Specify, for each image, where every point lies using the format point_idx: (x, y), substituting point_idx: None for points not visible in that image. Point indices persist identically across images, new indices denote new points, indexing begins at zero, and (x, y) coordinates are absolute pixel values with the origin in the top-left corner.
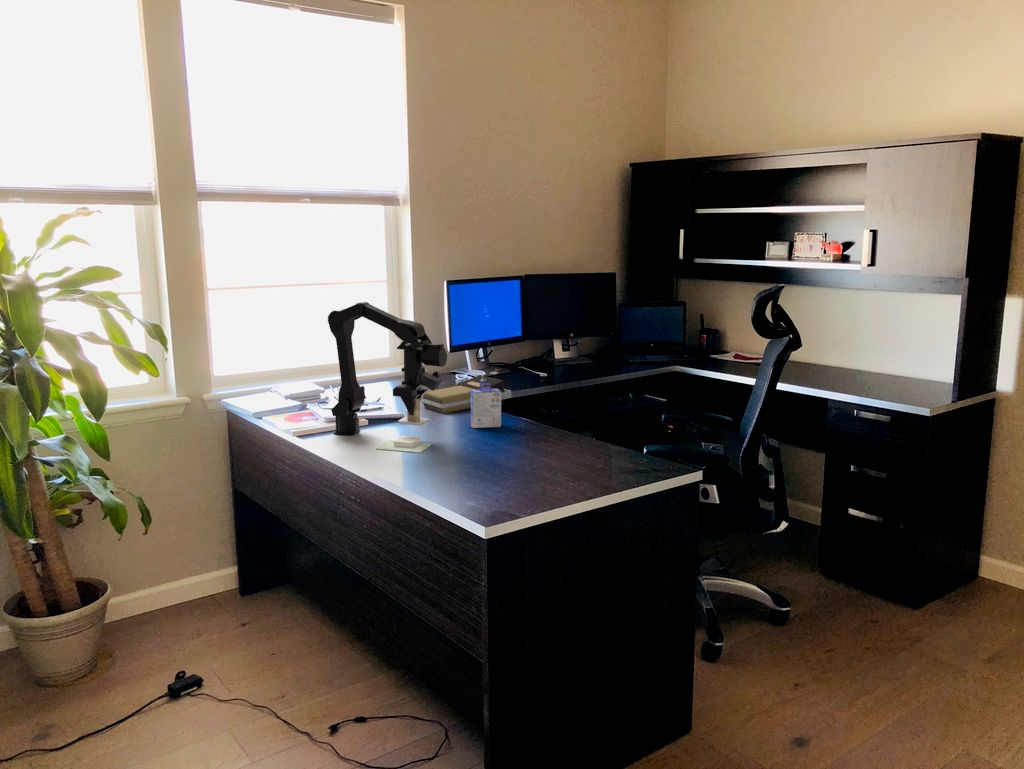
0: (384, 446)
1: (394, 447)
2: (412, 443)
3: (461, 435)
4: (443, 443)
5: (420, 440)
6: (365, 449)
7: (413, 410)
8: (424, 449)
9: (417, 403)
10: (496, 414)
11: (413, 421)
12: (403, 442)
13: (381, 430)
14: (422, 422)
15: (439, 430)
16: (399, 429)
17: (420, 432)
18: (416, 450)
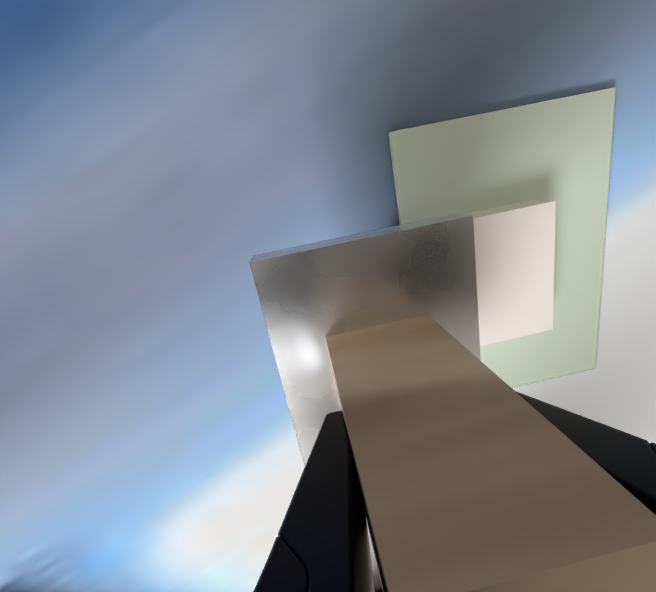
0: (551, 354)
1: (554, 298)
2: (545, 201)
3: (11, 48)
4: (319, 64)
5: None
6: (601, 405)
7: (529, 402)
8: (531, 104)
9: (525, 467)
10: None
11: (455, 330)
12: (553, 263)
13: (250, 553)
14: (459, 223)
15: (16, 301)
16: (175, 504)
17: (154, 376)
18: (583, 135)
